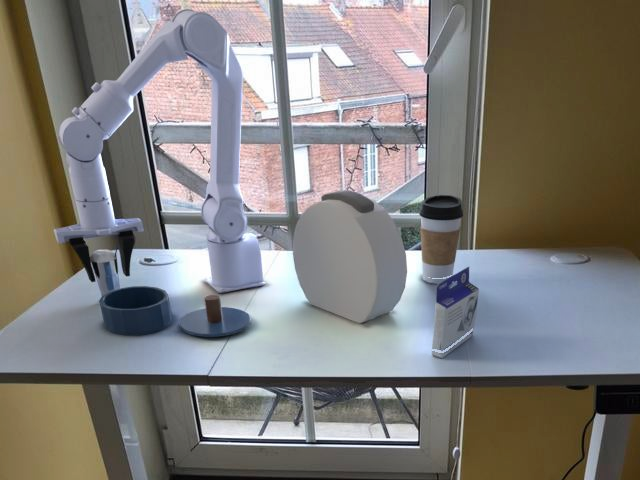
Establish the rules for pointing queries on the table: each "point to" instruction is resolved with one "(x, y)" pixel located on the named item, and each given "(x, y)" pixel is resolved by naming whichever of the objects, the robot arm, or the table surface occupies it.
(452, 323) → the ink box
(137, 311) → the tin
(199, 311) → the lid
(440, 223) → the coffee cup
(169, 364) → the table surface
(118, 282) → the milkshake
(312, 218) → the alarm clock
